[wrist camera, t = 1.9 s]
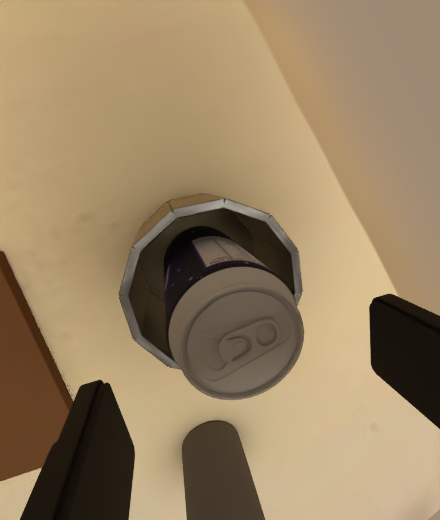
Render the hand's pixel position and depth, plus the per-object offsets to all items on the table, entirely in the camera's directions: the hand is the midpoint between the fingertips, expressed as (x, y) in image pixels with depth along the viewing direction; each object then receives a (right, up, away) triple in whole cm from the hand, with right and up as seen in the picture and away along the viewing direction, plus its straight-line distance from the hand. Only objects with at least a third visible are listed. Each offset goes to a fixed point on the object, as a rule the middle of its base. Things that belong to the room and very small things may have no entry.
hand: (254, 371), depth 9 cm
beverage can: (-3, +4, +12) cm, 13 cm away
